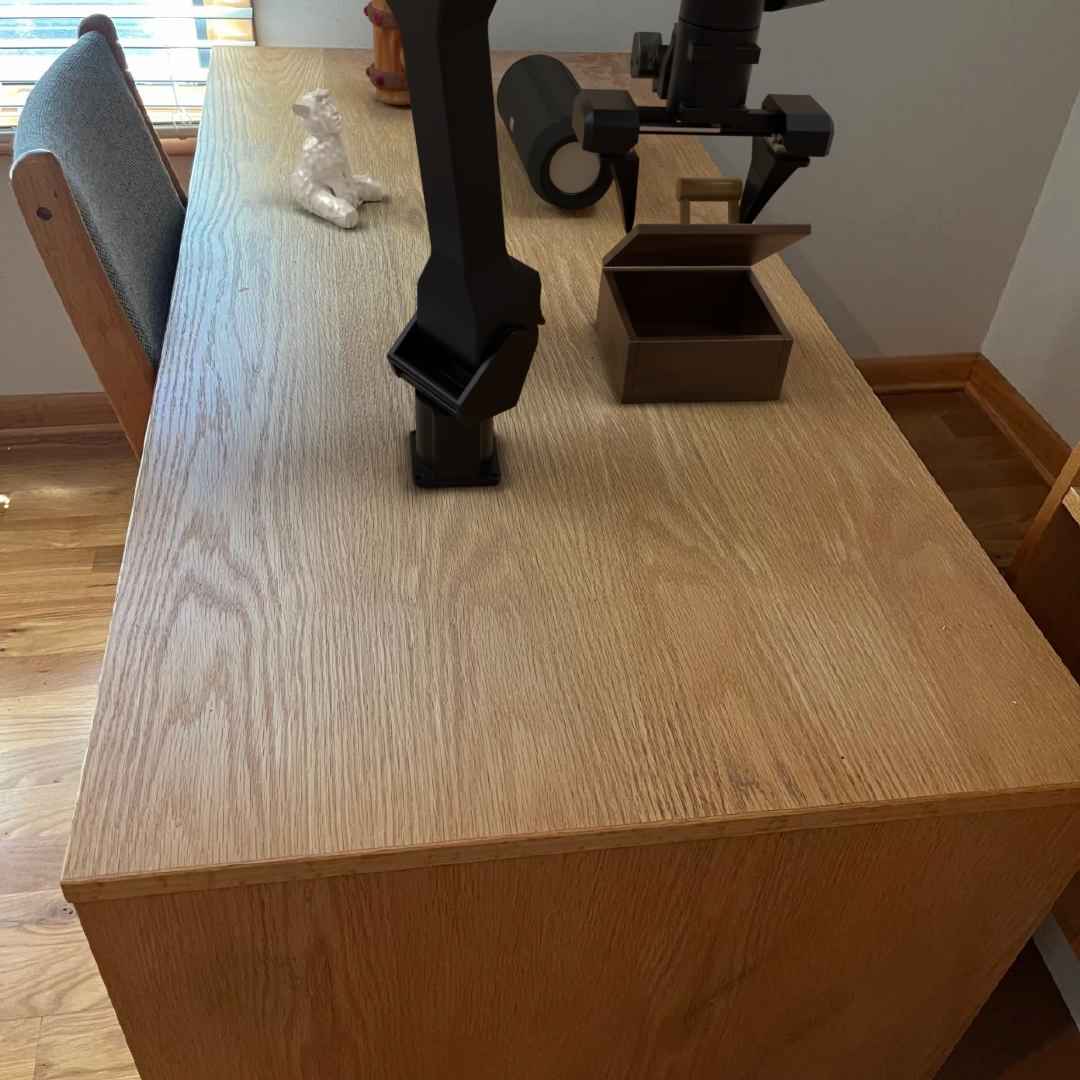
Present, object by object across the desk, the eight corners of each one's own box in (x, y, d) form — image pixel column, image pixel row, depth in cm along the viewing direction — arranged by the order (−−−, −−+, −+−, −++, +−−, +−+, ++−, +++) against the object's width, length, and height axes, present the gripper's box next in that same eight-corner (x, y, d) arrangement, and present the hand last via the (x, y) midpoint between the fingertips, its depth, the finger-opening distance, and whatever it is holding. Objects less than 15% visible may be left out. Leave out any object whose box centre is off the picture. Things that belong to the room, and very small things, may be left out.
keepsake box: (778, 399, 86) (794, 339, 82) (621, 403, 84) (629, 341, 81) (738, 323, 96) (750, 266, 92) (595, 325, 94) (601, 267, 90)
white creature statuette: (351, 232, 105) (343, 112, 97) (274, 218, 106) (260, 99, 99) (386, 197, 112) (382, 83, 104) (314, 184, 113) (303, 70, 105)
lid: (811, 234, 78) (811, 164, 78) (637, 234, 76) (636, 162, 76) (751, 266, 92) (750, 206, 91) (602, 267, 90) (600, 206, 89)
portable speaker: (492, 132, 128) (494, 47, 122) (569, 131, 130) (575, 47, 124) (528, 220, 110) (533, 125, 103) (618, 217, 112) (628, 124, 105)
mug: (360, 91, 137) (353, -35, 127) (417, 86, 140) (415, -38, 130) (396, 130, 127) (391, -3, 117) (457, 123, 130) (458, -7, 120)
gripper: (809, -5, 79) (766, 192, 89) (569, -16, 76) (553, 190, 86) (861, 37, 70) (807, 250, 81) (595, 27, 68) (574, 249, 78)
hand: (683, 232), depth 82 cm, fingers open, 9 cm apart
